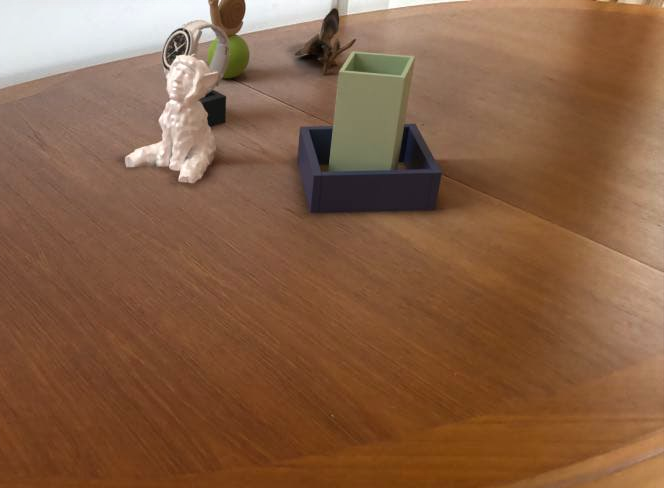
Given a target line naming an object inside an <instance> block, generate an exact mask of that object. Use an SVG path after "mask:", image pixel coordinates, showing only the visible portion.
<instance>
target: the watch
mask: <svg viewBox="0 0 664 488" xmlns="http://www.w3.org/2000/svg"><path fill="white" fill-rule="evenodd" d="M204 29H211V30H212V31H213V33H214V35H215V38H217V43H218V44H217V47H216V51H214V55H213V58H212V61H211V64H210V66H208V68H209V69H210V73H213V72H219V76H218V81H217V82H216V83H215V84H214V85H212V86H211V87H209V89H208V91H207V93H206V94H205V97H203V98H200V99H199V100H198V101H200V102H201V103H202V105H203V107H204V109H205V111H206V112H207V113H208V117H207V121H208V125H209V126H210V128H211V127H214V126H217V125H218V126H219V125H221V124H224V123H226V119H227V113H226V112H227V95H225V94H223V93H221V92H219V91H216V90H214V89H215V88H216V87H219V85H220V84H221V82H222V79H224V78H223V75H224V73H225V71H226V68H227V65H228V62H229V58H230V53H229V52H230V49H229V48H230V44H229V40H228V37H227V35H226V33H225V32H224V31H223V30H222V29H221V28H220V27H218V26H216V25H213V24H212V22H208V21H206V20H203V19H196V20H193V21H192V20H191V21H189V22H187V23H184V24H182V25H181V26H180V27H178V28H175V29H174V30H173V31H172V32H171V33H170V34H169V36H168V37H167V38H166V40H165V42H164V45H163V47H162V52H161V64H162V67H163V72H164V74H165V75H164V76H165V77H166V76H167V74H168V73H169V72H170V66H171V65H172V63H173V61H174V60H175V59H176V56H179V55H186V56H188V55H190V56H192V57H195V58H196V59H197V60H198V52H199V41H200V39H201V36H202V34H203V31H202V30H204ZM168 100H169V101H170V98H169V99H168ZM169 101H168V102H169Z"/></svg>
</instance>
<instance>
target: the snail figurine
mask: <svg viewBox="0 0 664 488" xmlns="http://www.w3.org/2000/svg"><path fill="white" fill-rule="evenodd" d="M207 2H208V6H209V15H210V23H211V24H213V25H216V26H218V27H220V28H221V29H222V30H223V31H224V32H225V33H226V35H227V37H228V40H229V44H230V48H229V49H230V52H229V53H230V58H229V62H228V65H227V68H226V71H225V73H224V75H223V78H222V79H233V78H236V77H238V76H240V75H241V74H242V73H243V72H244V71H245V70H246V69H247V67H248V65H249V61H250V48H249V46H248V43H247V42H246V40H245V39H244V38H243V37H242V36H241V35H238V33H239V32H240V31H241V29H242V28H243V26H244V21H243V20H244V18H245V15H246V8H247V7H246V6H247V5H246V1H245V0H207ZM217 44H218V43H217V37H215V39H213V41H212V42H211V43H210V45H209V47H208V50H207V63H208V67H210V64H211V61H212V58H213V55H214V51H216V47H217Z"/></svg>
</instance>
